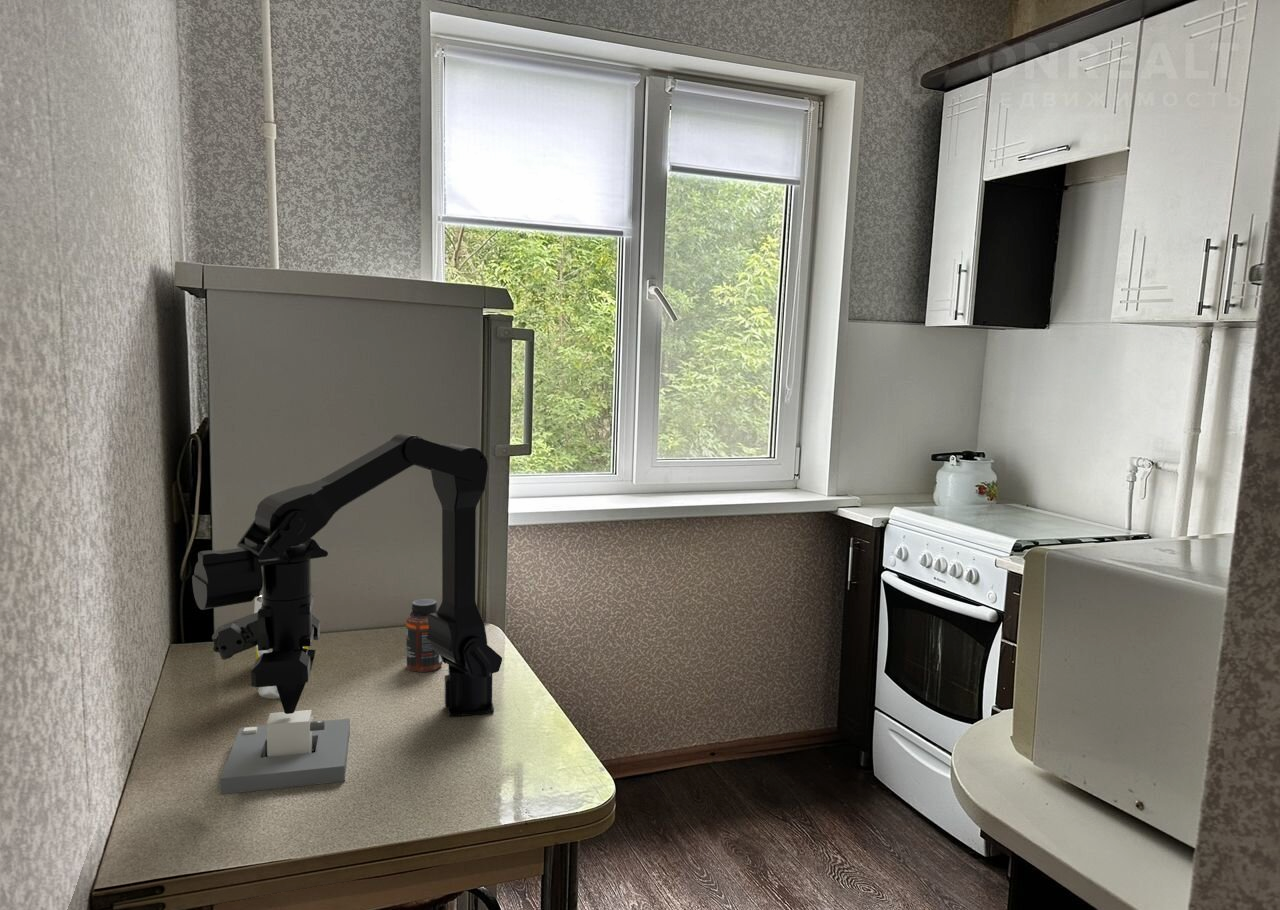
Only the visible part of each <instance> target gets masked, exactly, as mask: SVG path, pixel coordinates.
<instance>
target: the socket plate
mask: <svg viewBox="0 0 1280 910" xmlns="http://www.w3.org/2000/svg"><path fill="white" fill-rule="evenodd" d="M350 722H351V721H350V718H339V719H326V720H325V729H324V730H319V731H312V751H315V752H312V753H304V754H293V755H283V756H273V757H267V725H257V726H248V727H247V726H246V727H239V729H238V732H237V734H236V738H235V739H234V742H233V744H232V747H231V750H230V753H229V755H228V757H227V759H226V763H225V765H224V768H223V771H222V773H221V776H220V780H219V781H220V782H219V783H220V785H219V786H220V787H219V788H220V795H228V794H230V795H231V794H237V793H238V794H239V793H248V792H256V791H257V792H258V791H265V790H273V789H275V790H276V789H283V788H293V787H303V786H312V785H313V786H314V785H321V784H331V783H339V782H340V783H342V782H345V781H346V771H347V764H348V763H347V762H348V753H349V743H350V734H351V733H350V732H351V730H350V729H351V724H350Z"/></svg>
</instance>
